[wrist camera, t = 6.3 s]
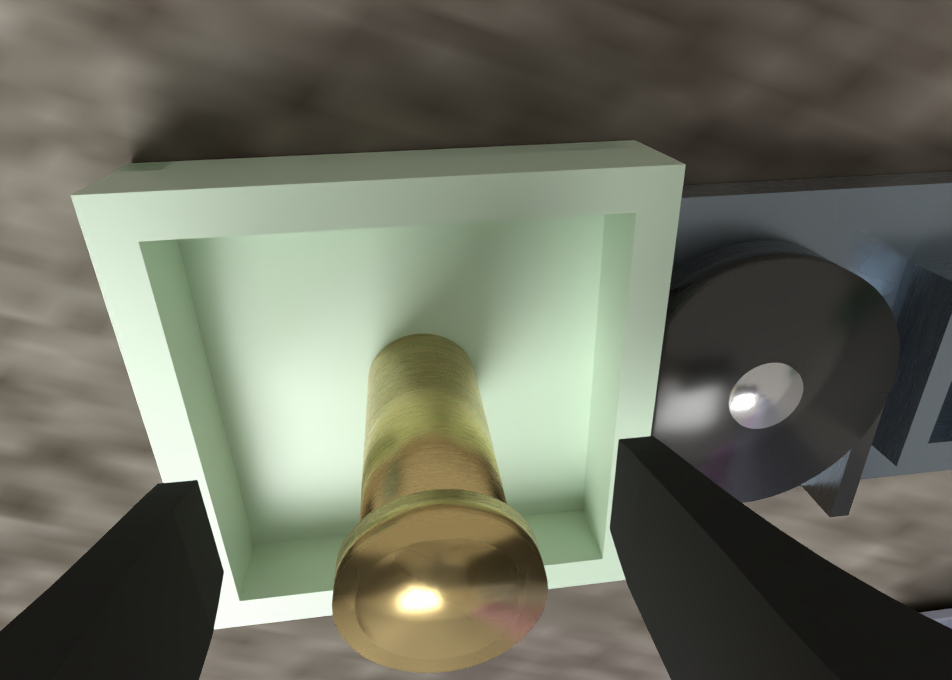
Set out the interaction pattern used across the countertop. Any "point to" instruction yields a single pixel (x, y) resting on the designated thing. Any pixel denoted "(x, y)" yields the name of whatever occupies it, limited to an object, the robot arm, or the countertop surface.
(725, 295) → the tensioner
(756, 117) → the countertop surface
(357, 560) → the pin
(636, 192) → the tray
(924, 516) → the countertop surface
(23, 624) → the robot arm
